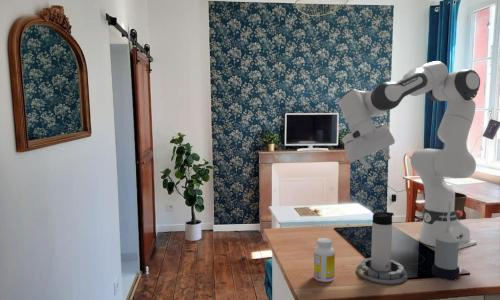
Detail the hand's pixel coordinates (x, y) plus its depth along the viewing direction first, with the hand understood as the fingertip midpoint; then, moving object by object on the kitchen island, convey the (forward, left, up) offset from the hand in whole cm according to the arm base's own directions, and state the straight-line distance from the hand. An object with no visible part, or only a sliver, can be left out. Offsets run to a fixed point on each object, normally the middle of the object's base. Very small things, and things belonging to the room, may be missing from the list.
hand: (378, 164), depth 140 cm
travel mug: (+10, +16, -34) cm, 39 cm away
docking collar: (+10, +16, -35) cm, 40 cm away
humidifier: (-10, +23, -35) cm, 43 cm away
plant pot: (-52, -18, -35) cm, 65 cm away
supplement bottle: (+30, +13, -35) cm, 48 cm away
